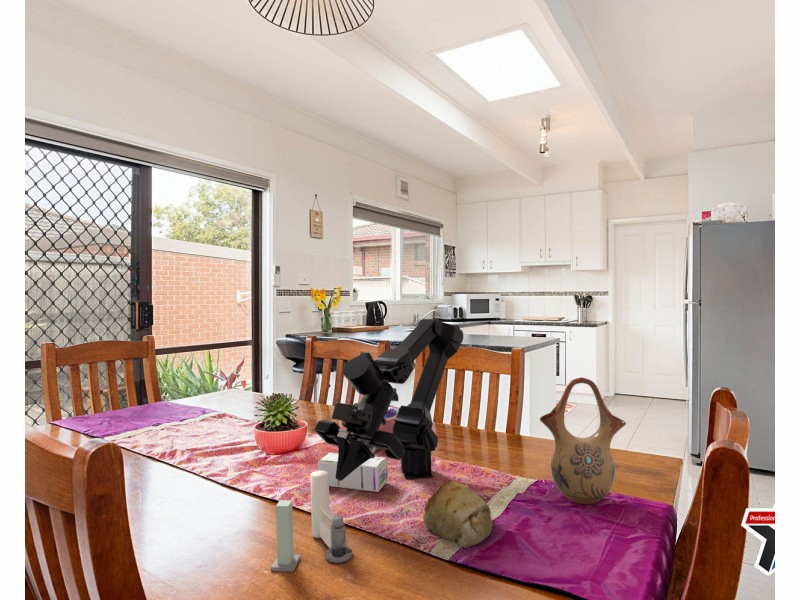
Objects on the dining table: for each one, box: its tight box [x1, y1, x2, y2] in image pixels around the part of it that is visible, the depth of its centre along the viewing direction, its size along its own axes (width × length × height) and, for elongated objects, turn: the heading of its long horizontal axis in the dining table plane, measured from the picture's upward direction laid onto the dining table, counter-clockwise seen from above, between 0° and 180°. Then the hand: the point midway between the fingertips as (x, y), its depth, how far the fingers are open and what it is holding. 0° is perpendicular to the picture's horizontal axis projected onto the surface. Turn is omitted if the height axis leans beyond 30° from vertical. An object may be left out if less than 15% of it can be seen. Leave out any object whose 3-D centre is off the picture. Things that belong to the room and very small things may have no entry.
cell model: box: [338, 404, 400, 433], centre depth 138 cm, size 17×20×11 cm
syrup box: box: [317, 451, 388, 493], centre depth 108 cm, size 6×6×14 cm
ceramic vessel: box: [539, 377, 627, 505], centre depth 97 cm, size 16×9×25 cm, turn 77°
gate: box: [309, 470, 345, 549], centre depth 83 cm, size 10×3×11 cm, turn 30°
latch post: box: [270, 499, 301, 573], centre depth 77 cm, size 4×4×10 cm
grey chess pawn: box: [324, 523, 353, 565], centre depth 80 cm, size 4×4×5 cm
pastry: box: [422, 479, 493, 548], centre depth 88 cm, size 14×12×8 cm
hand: (338, 479), depth 90 cm, fingers closed
